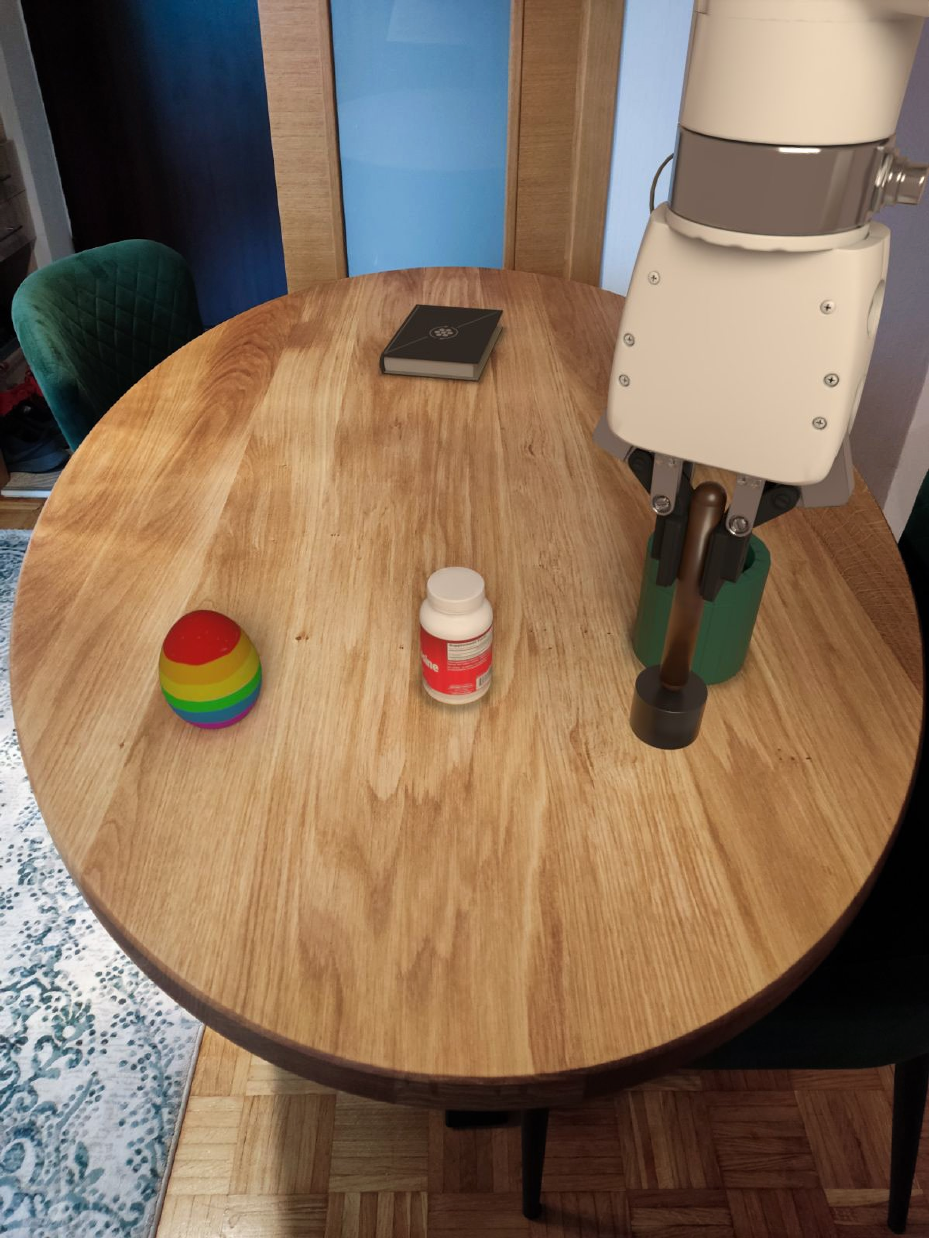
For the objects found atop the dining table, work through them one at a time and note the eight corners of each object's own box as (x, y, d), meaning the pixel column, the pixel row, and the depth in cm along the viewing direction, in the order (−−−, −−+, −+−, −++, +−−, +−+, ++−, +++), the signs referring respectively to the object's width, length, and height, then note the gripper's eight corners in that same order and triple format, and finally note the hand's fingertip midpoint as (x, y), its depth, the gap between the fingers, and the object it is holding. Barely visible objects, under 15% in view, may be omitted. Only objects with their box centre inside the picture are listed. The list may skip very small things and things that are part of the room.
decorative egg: (227, 662, 80) (207, 573, 74) (287, 702, 76) (271, 611, 70) (151, 711, 75) (122, 620, 69) (210, 756, 71) (186, 664, 65)
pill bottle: (418, 663, 80) (413, 564, 73) (484, 656, 81) (486, 557, 74) (426, 711, 75) (422, 609, 68) (497, 703, 76) (500, 602, 69)
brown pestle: (708, 715, 51) (766, 475, 41) (685, 760, 49) (742, 514, 39) (643, 692, 53) (685, 455, 43) (618, 734, 50) (656, 491, 40)
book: (415, 321, 146) (414, 303, 145) (502, 328, 144) (503, 310, 142) (379, 374, 130) (378, 354, 128) (478, 382, 128) (478, 362, 126)
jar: (758, 635, 83) (785, 538, 76) (724, 700, 76) (750, 600, 69) (656, 602, 87) (672, 506, 80) (615, 660, 80) (629, 562, 73)
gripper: (1012, 186, 32) (869, 587, 44) (614, 144, 38) (580, 505, 50) (993, 238, 27) (837, 675, 39) (539, 179, 33) (520, 572, 45)
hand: (693, 577), depth 44 cm, fingers closed on brown pestle, 1 cm apart
